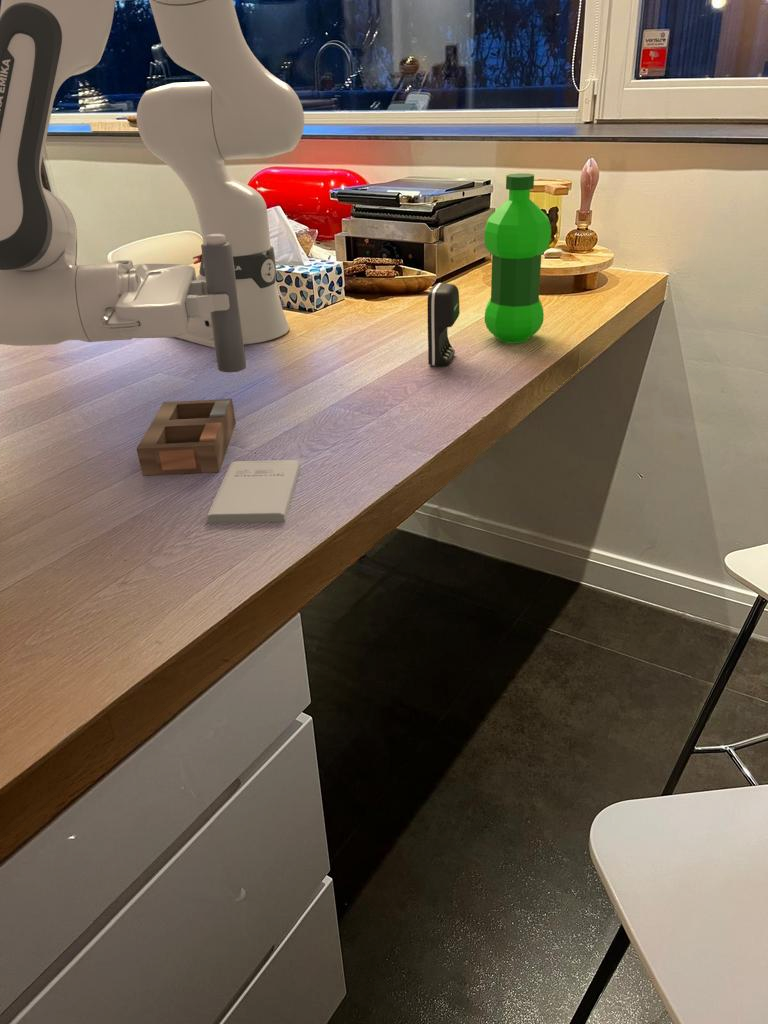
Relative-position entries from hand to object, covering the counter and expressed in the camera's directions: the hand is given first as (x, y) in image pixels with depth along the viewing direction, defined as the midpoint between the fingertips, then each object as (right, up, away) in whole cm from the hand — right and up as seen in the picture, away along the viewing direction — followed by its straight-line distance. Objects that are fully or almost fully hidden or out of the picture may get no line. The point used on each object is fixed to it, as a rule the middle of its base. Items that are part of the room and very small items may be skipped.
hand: (230, 295), depth 94 cm
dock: (-5, -18, +4) cm, 19 cm away
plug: (-1, -8, +5) cm, 9 cm away
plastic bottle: (+40, +3, +35) cm, 53 cm away
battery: (+28, -3, +28) cm, 39 cm away
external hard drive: (+4, -25, -7) cm, 26 cm away
